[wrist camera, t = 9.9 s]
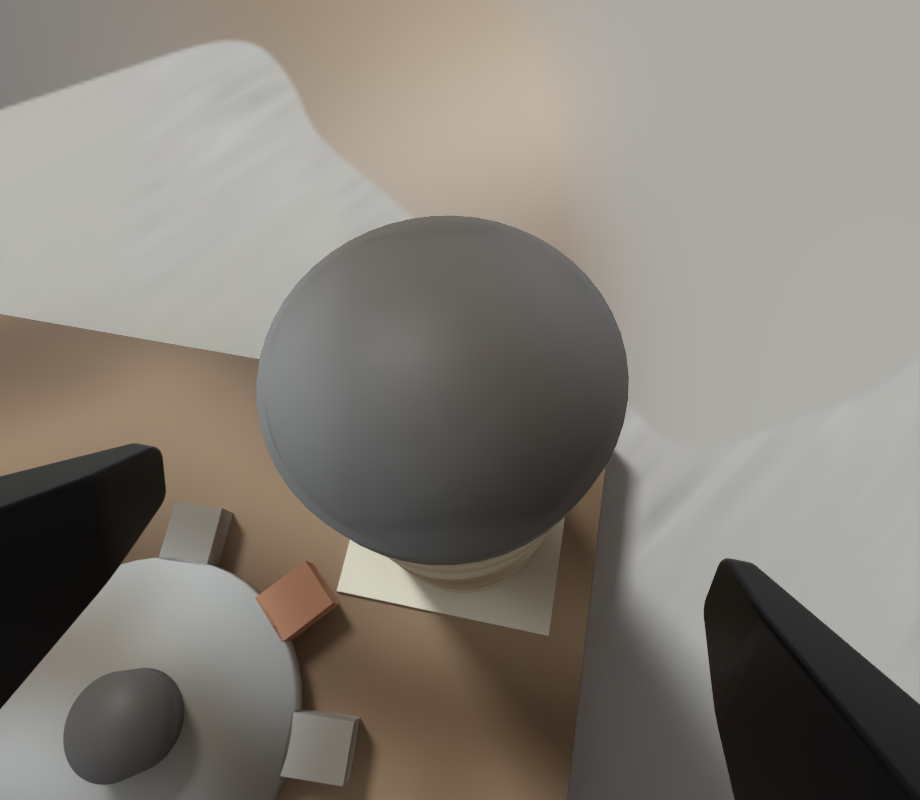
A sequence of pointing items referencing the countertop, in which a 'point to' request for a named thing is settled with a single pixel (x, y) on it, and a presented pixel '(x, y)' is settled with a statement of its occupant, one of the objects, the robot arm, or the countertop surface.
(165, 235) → the countertop surface
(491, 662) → the sprocket board
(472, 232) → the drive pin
